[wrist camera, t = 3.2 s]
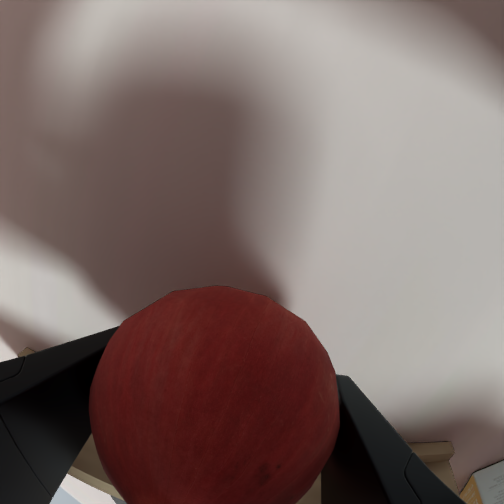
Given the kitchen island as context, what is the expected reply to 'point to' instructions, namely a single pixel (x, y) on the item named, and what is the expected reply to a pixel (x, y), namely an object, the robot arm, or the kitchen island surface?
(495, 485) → the small box
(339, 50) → the kitchen island surface
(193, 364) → the onion
